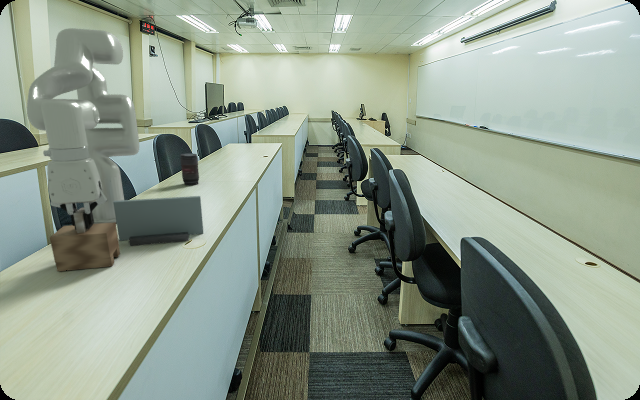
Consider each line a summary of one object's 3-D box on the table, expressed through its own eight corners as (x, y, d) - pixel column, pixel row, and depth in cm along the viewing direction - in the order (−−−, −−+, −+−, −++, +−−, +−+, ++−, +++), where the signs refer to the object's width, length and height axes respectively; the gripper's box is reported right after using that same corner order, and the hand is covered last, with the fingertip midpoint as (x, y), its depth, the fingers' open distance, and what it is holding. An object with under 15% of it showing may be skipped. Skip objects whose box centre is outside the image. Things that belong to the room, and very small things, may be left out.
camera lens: (185, 186, 173) (182, 156, 169) (181, 183, 179) (178, 154, 175) (201, 184, 177) (199, 154, 173) (197, 181, 183) (194, 152, 179)
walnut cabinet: (56, 271, 86) (45, 217, 82) (70, 258, 93) (60, 207, 89) (111, 266, 89) (103, 213, 85) (120, 253, 96) (112, 204, 92)
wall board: (119, 240, 106) (113, 202, 102) (120, 238, 107) (114, 200, 104) (203, 233, 112) (200, 197, 108) (203, 231, 113) (200, 195, 110)
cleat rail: (129, 246, 102) (128, 239, 101) (131, 243, 104) (130, 236, 103) (188, 240, 106) (187, 234, 105) (189, 238, 108) (188, 231, 107)
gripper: (23, 158, 78) (40, 236, 83) (102, 156, 82) (114, 230, 87) (39, 153, 85) (54, 225, 90) (112, 151, 89) (122, 220, 94)
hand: (84, 227), depth 88 cm, fingers closed on walnut cabinet, 1 cm apart
